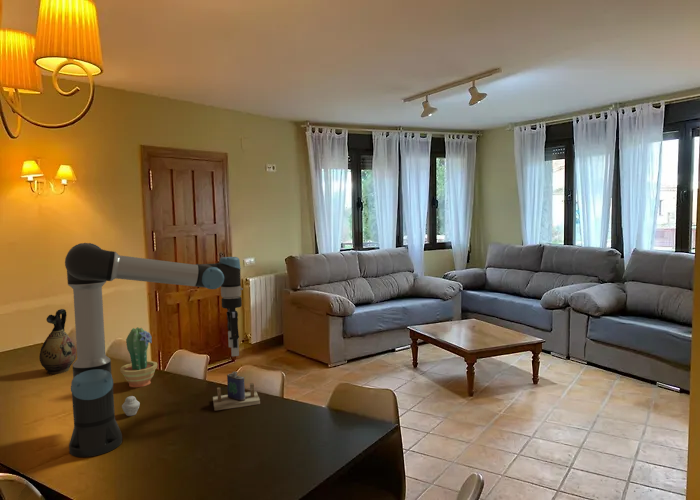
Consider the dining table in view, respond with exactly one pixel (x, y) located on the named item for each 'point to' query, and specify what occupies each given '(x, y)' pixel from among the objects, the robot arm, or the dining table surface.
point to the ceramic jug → (57, 346)
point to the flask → (235, 387)
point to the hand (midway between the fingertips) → (233, 351)
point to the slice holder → (227, 403)
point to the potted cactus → (138, 359)
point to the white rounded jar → (130, 406)
